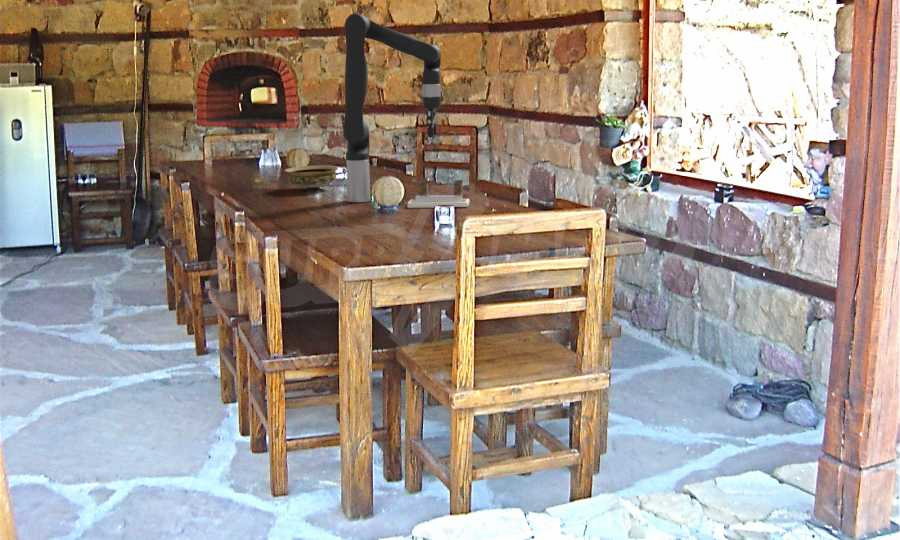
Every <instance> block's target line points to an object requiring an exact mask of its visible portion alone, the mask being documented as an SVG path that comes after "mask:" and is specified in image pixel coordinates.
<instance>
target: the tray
mask: <svg viewBox="0 0 900 540" xmlns="http://www.w3.org/2000/svg"><path fill="white" fill-rule="evenodd" d="M469 203H471V202H470V198H463V199H462V202H440V203H416V198H415V199H410V200H409V201H408V202H407V209H435V208H434V207H435V206H438V205H453V206H455V207H468V208H469V206H468V205H470V204H469Z"/></svg>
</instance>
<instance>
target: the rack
mask: <svg viewBox="0 0 900 540" xmlns="http://www.w3.org/2000/svg"><path fill="white" fill-rule="evenodd" d="M463 181H464V180H463V179H455V180H454V181H453V195H462V199H464V187H463V186H464V185H463ZM418 186H419V188H418V190H419V191H418V193H419V194H418V195H430V192H429V190H430V189H429V180H420V181H419V182H418Z"/></svg>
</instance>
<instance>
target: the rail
mask: <svg viewBox="0 0 900 540" xmlns="http://www.w3.org/2000/svg"><path fill="white" fill-rule="evenodd" d="M415 199H416V203H440V202H462V195H454V194H443V195H442V194H438V195H437V194H435V195H434V194H433V195H432V194H431V195H430V194H429V195H420V194H418V195H415Z"/></svg>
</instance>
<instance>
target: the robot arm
mask: <svg viewBox="0 0 900 540" xmlns="http://www.w3.org/2000/svg"><path fill="white" fill-rule="evenodd" d="M344 36H345V46H346V50H345V52H346V53H345V66H344V70H345V71H344V101H345V102H344V103H345V105H344V106H345V108H344V119H343V127H342V128H343V129H342V133H343V137H344V139H345V141H346V142H347V151H346V153H345V158H346V179H345V185H346V202H349V203H365V202H370V201H371V181H370V160H369V159H370V156H369V155H370V130H369V127H368V124H367V123H366V122H365V121H364V107H365V106H364V105H365V102H366V98H367V93H368V86H369V84H368V81H369V70H368V64H367V59H366V53H365V42H366V40H365V39H369V40H373V41H376V42H379V43H381V44H383V45H386V46H387V47H390V48H391V49H393V50H396V51H397V52H398V51H399V52H401V53H403V54H406V55H407V56H408V55H409V56H412V57H414V58H417V59H419V60H420V61H423V71H422V87H421V88H422V89H421V93H422V94H421V97H422V98H421V99H422V105H421V106H422V108H423V109H427V111H426V113H425V114H426V115H425V116H426V117H425V118H426V121H425V122H426V128H427V137H428V138H434V136H436V135H437V126H438V108H441V107H442V88H441V87H442V86H441V71H440V70H441V61H442V58H441V57H442V53H441V49H440V48H439V46H437V45H435V44H430V43H427V42H424V41H422V40H419V39H417V38H415V37H413V36H410V35H408V34H406V33H403V32H401V31H400V32H399V31H397V30H394V29H391V28H388V27H385V26H383V25H382V24H379V23H377V22H375V21H373V20H371V19H370V18H369V17H367V16H365V14H361V13H351V14H349V15H348V16H347V18H346V20H345V22H344Z"/></svg>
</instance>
